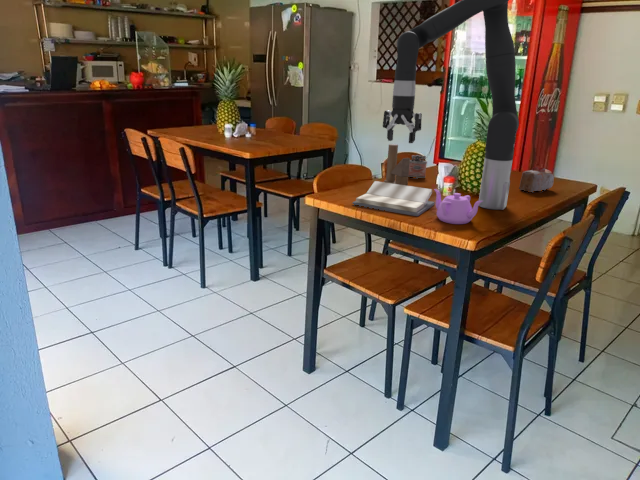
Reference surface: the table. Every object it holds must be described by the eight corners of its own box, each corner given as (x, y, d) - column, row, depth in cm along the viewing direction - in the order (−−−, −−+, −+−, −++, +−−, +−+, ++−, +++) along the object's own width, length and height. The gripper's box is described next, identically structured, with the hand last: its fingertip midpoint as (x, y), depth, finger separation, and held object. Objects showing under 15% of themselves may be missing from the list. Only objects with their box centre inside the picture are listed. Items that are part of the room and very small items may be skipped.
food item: (536, 186, 213) (540, 163, 210) (553, 190, 207) (558, 167, 203) (516, 190, 206) (520, 166, 202) (533, 194, 199) (538, 170, 196)
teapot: (431, 213, 168) (434, 188, 165) (473, 216, 167) (476, 190, 164) (435, 224, 157) (438, 196, 154) (480, 226, 156) (484, 199, 153)
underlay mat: (434, 204, 179) (434, 201, 179) (417, 216, 164) (418, 213, 164) (373, 194, 190) (373, 192, 190) (352, 205, 175) (352, 202, 175)
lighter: (407, 177, 222) (409, 155, 218) (407, 176, 225) (409, 154, 222) (425, 178, 221) (427, 156, 217) (425, 177, 224) (427, 155, 220)
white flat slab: (423, 207, 172) (424, 202, 171) (416, 212, 165) (416, 208, 165) (365, 197, 182) (365, 193, 181) (356, 202, 175) (356, 198, 175)
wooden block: (399, 195, 191) (403, 148, 185) (383, 189, 200) (386, 143, 194) (407, 194, 193) (411, 147, 187) (390, 188, 201) (394, 143, 195)
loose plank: (432, 192, 177) (432, 189, 176) (424, 206, 172) (424, 202, 171) (375, 184, 187) (374, 180, 186) (366, 196, 182) (366, 193, 182)
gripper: (427, 95, 170) (423, 143, 176) (392, 93, 179) (389, 138, 184) (416, 95, 165) (412, 145, 170) (380, 93, 173) (377, 140, 179)
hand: (400, 141), depth 177 cm, fingers open, 8 cm apart
